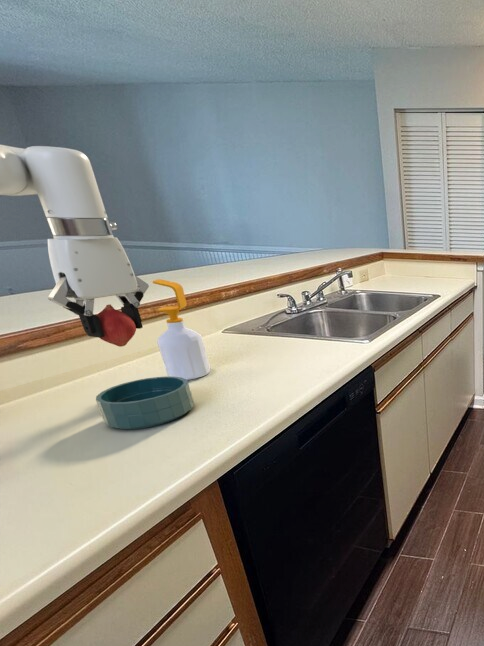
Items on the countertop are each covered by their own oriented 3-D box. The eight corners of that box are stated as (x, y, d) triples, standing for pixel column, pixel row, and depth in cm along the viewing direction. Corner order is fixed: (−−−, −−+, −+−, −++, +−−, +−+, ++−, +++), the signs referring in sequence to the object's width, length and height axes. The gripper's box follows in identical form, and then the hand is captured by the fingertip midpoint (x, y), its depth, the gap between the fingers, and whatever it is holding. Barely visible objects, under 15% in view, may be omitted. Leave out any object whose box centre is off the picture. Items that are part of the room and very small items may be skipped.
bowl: (87, 426, 84) (75, 399, 82) (159, 398, 97) (151, 373, 95) (144, 435, 81) (135, 407, 79) (211, 405, 94) (204, 380, 92)
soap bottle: (176, 370, 114) (149, 277, 104) (215, 367, 116) (191, 277, 107) (162, 382, 106) (131, 283, 96) (204, 379, 108) (177, 282, 99)
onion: (93, 351, 76) (77, 308, 73) (112, 343, 82) (97, 301, 79) (131, 350, 78) (117, 307, 75) (147, 341, 83) (134, 300, 80)
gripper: (119, 227, 81) (147, 320, 87) (-2, 230, 65) (44, 342, 72) (150, 229, 79) (176, 323, 86) (34, 231, 63) (77, 346, 70)
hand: (116, 331), depth 79 cm, fingers closed on onion, 5 cm apart
